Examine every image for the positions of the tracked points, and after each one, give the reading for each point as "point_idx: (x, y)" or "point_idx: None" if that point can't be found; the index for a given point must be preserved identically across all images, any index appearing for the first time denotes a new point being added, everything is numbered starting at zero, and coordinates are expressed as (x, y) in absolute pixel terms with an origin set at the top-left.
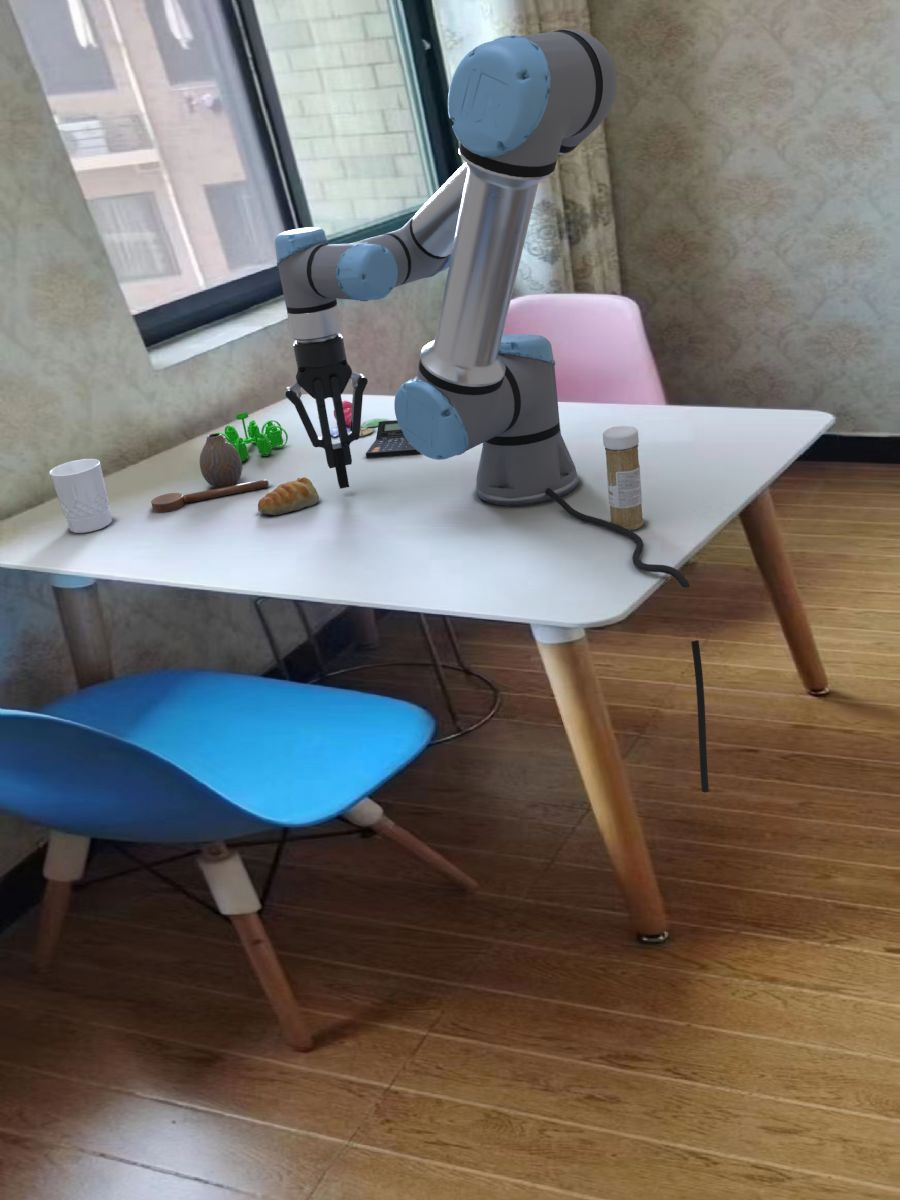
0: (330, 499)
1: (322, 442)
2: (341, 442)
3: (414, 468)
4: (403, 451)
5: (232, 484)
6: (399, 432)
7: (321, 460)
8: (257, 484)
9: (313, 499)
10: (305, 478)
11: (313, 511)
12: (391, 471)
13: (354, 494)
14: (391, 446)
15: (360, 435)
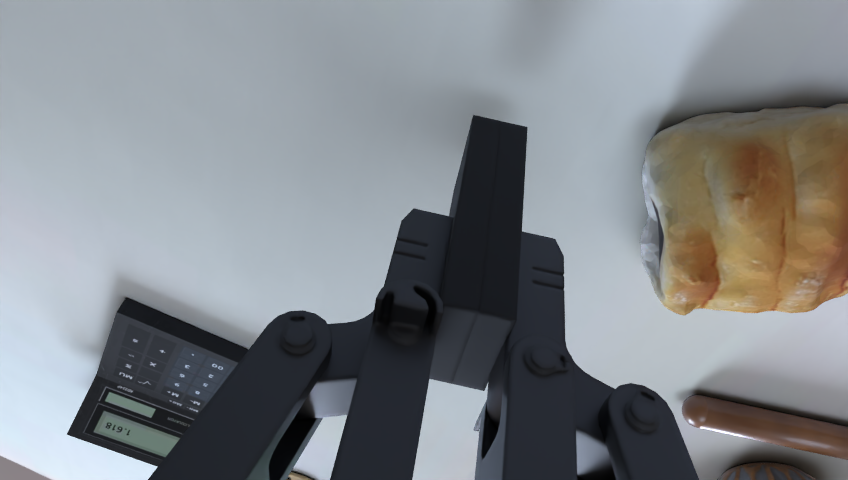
0: (578, 129)
1: (576, 408)
2: (432, 342)
3: (139, 198)
4: (174, 332)
5: (762, 465)
6: (177, 427)
7: (436, 436)
8: (733, 416)
9: (695, 129)
10: (684, 271)
11: (755, 24)
12: (236, 232)
13: (450, 105)
14: (212, 380)
15: (293, 476)
